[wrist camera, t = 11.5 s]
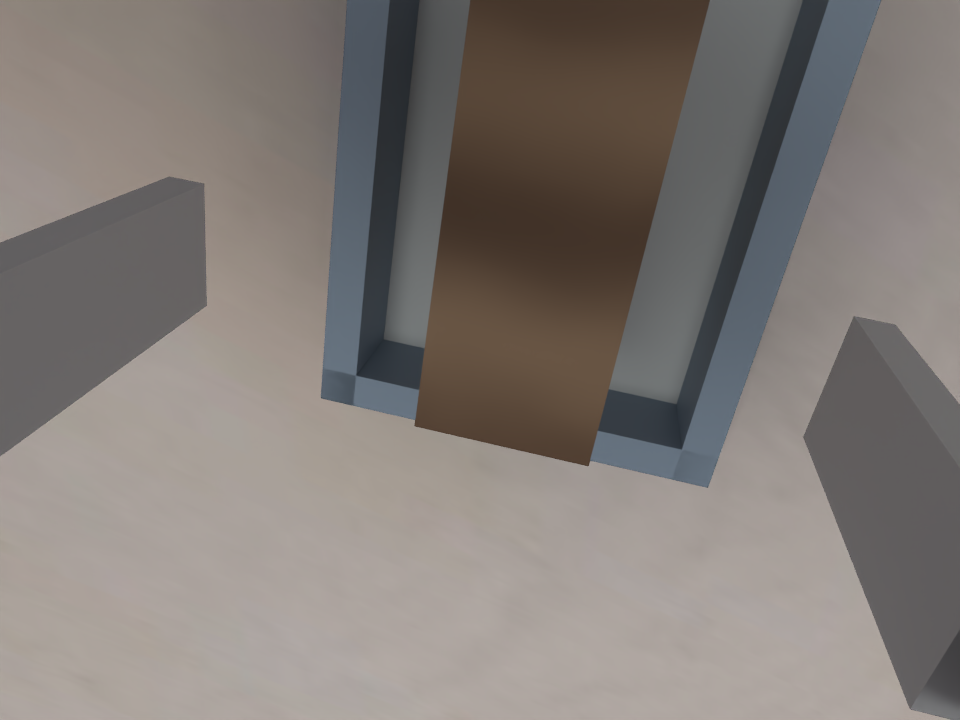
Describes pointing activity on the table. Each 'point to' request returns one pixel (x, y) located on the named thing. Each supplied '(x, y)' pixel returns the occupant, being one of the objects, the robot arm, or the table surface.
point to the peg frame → (672, 238)
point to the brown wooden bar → (549, 213)
